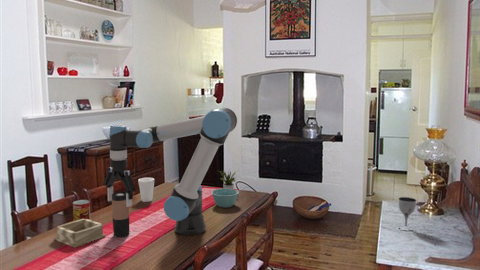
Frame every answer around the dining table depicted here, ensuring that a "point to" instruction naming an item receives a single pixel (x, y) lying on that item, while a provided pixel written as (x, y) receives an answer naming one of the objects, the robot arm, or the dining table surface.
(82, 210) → the canned food
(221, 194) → the bowl
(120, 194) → the travel mug
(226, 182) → the house plant
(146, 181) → the foam cup
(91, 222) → the caddy
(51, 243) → the dining table surface
